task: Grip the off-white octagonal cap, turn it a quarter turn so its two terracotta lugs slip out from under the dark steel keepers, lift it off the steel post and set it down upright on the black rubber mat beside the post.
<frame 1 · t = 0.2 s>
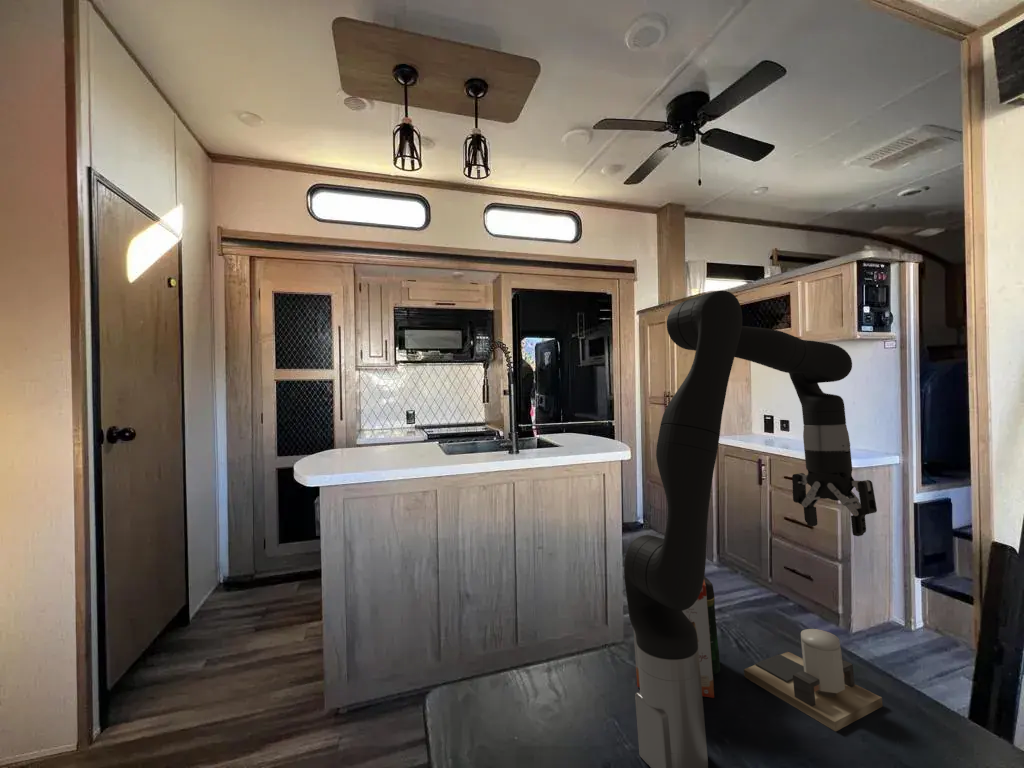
hand: (834, 530, 88), 28 cm above the table, tool pointing down, fingers open, 8 cm apart
bayonet post: (809, 690, 83), on the table
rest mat: (783, 668, 88), resting on bayonet post
cracker box: (675, 686, 87), on the table
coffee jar: (698, 665, 93), on the table
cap: (824, 682, 80), point 3 cm above the table, touching bayonet post
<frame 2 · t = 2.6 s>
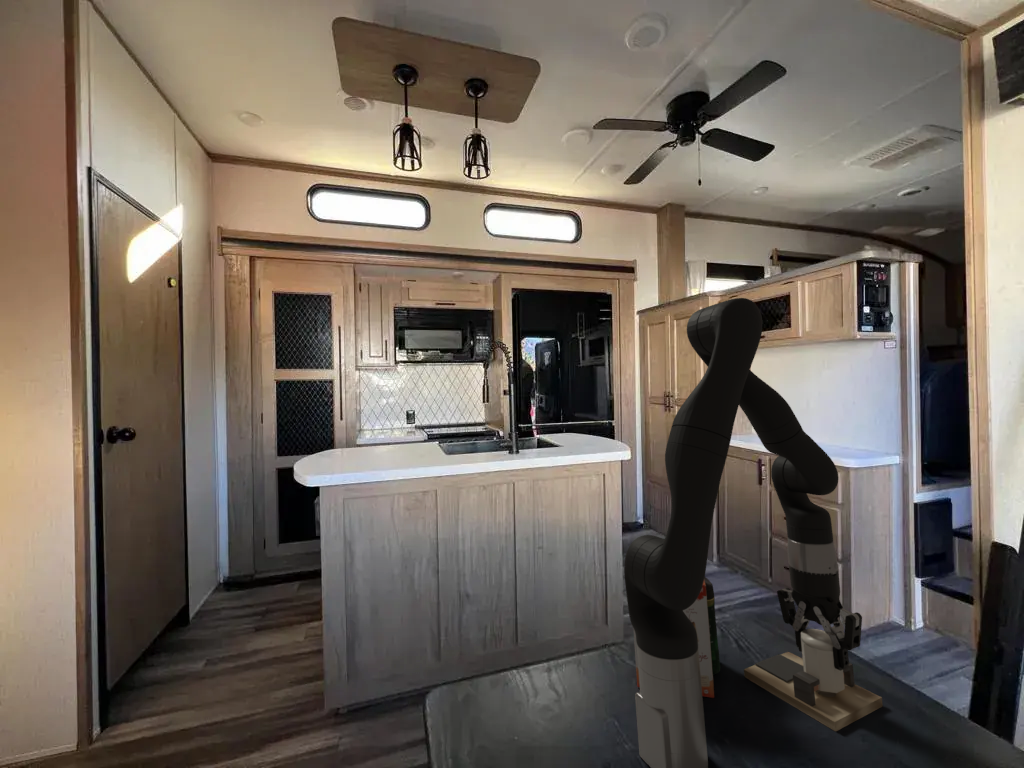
hand: (822, 659, 80), 7 cm above the table, tool pointing down, fingers closed on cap, 5 cm apart
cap: (824, 682, 80), point 3 cm above the table, touching bayonet post, gripper
everything else where it was.
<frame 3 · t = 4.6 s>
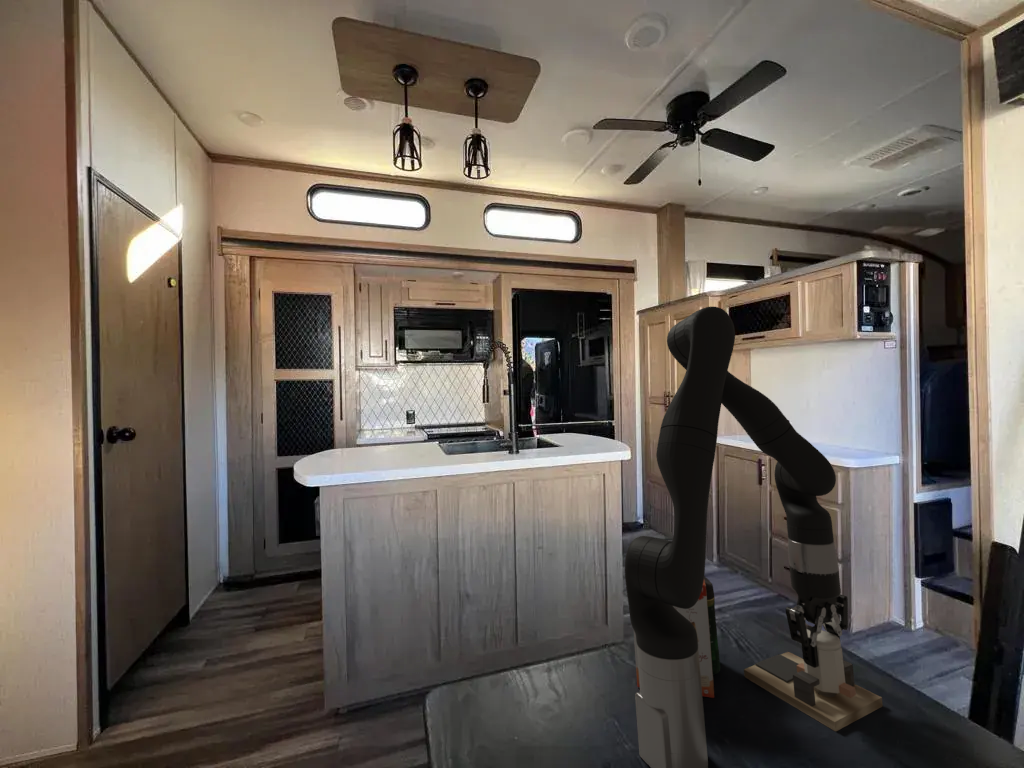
hand: (822, 659, 80), 7 cm above the table, tool pointing down, fingers closed on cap, 5 cm apart
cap: (825, 682, 80), point 3 cm above the table, touching bayonet post, gripper
everything else where it was.
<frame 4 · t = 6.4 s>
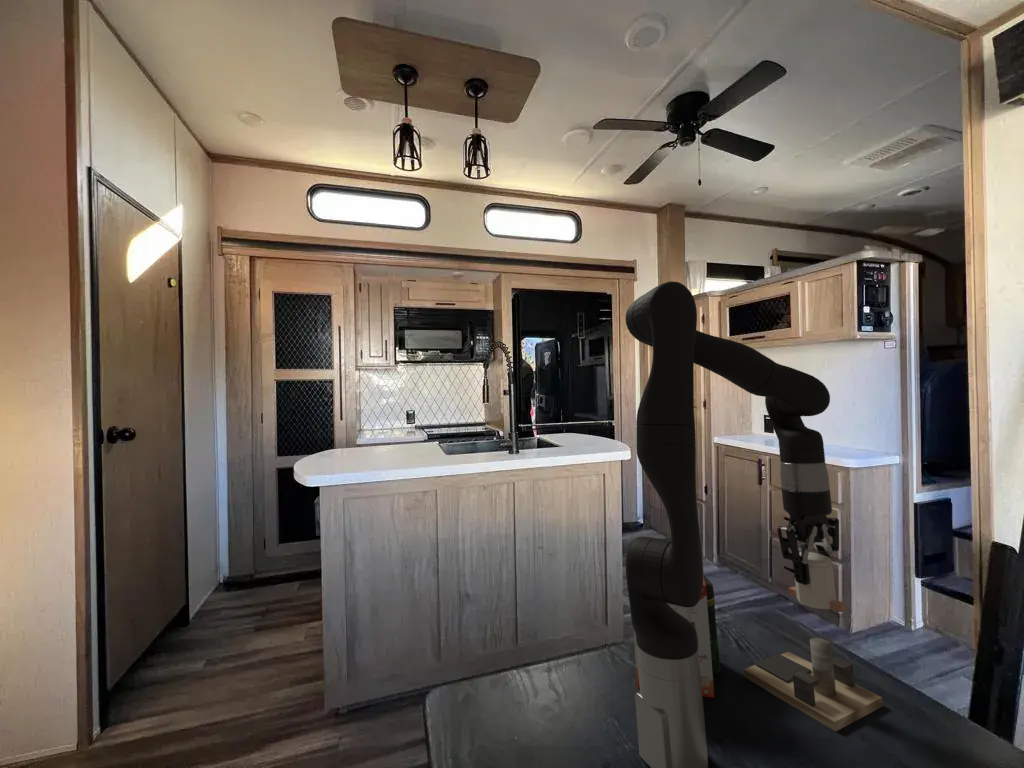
hand: (814, 579, 81), 21 cm above the table, tool pointing down, fingers closed on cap, 5 cm apart
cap: (816, 602, 81), point 17 cm above the table, touching gripper
everything else where it was.
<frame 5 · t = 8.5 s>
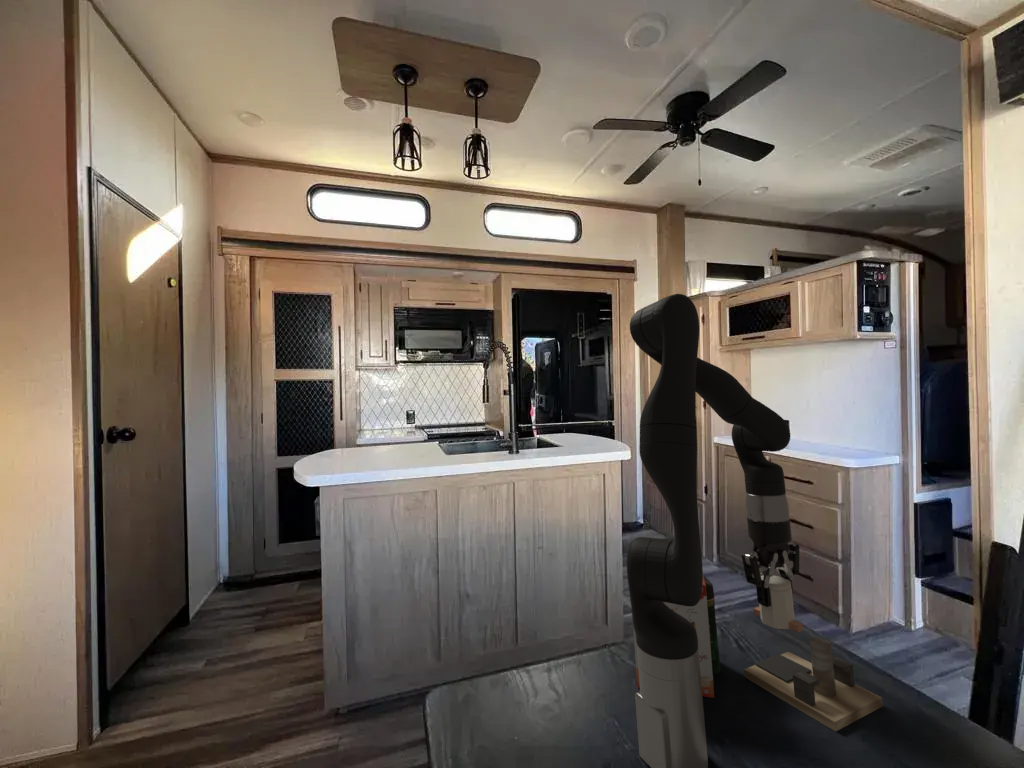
hand: (775, 601, 88), 14 cm above the table, tool pointing down, fingers closed on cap, 5 cm apart
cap: (777, 621, 88), point 10 cm above the table, touching gripper
everything else where it was.
when the fingers open (8 cm above the table, at t = 10.3 s): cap drops 2 cm, resting on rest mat.
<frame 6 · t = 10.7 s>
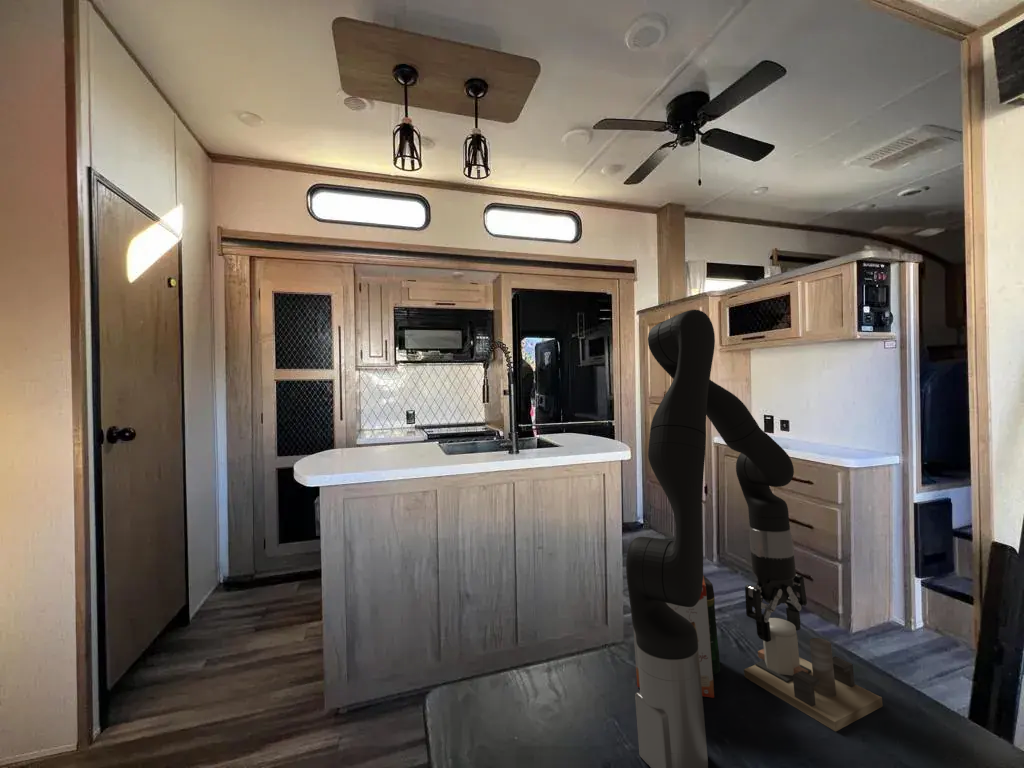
hand: (779, 634, 88), 8 cm above the table, tool pointing down, fingers open, 8 cm apart
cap: (782, 666, 88), point 2 cm above the table, touching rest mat
everything else where it was.
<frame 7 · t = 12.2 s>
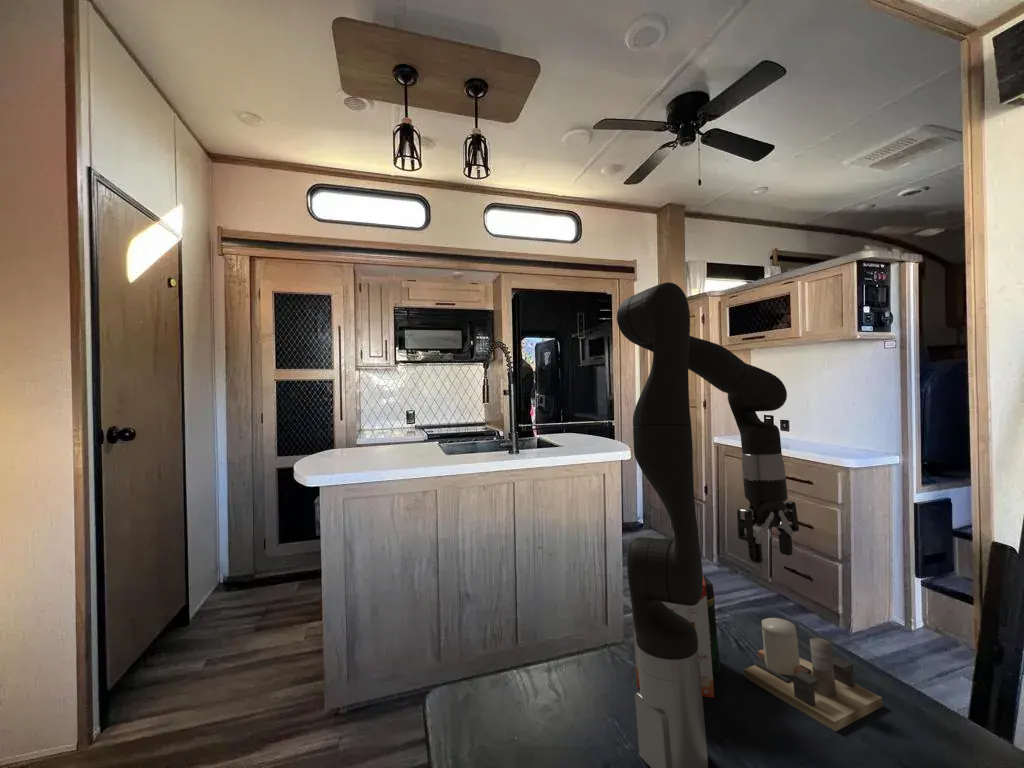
hand: (771, 558, 89), 23 cm above the table, tool pointing down, fingers open, 8 cm apart
nothing on the table moved.
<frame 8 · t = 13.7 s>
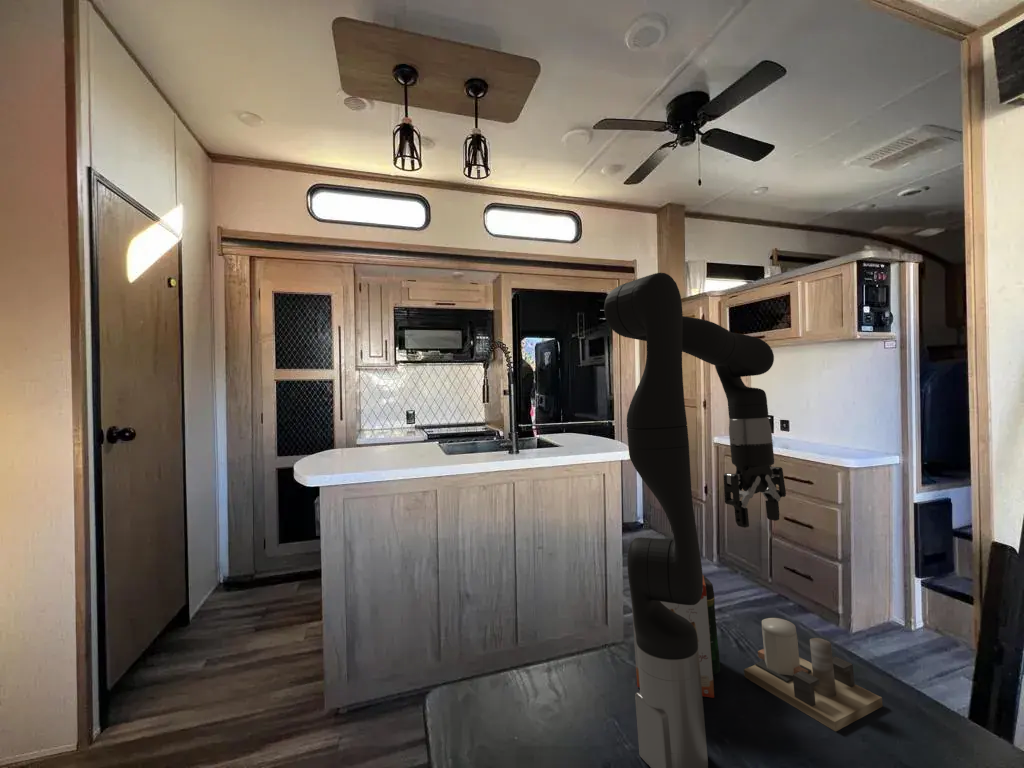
hand: (758, 523, 88), 30 cm above the table, tool pointing down, fingers open, 8 cm apart
nothing on the table moved.
at the end: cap 0.0 cm off-centre on the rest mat, point 0.4 cm above the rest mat's base; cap tilted 0°; the gripper is holding nothing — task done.
